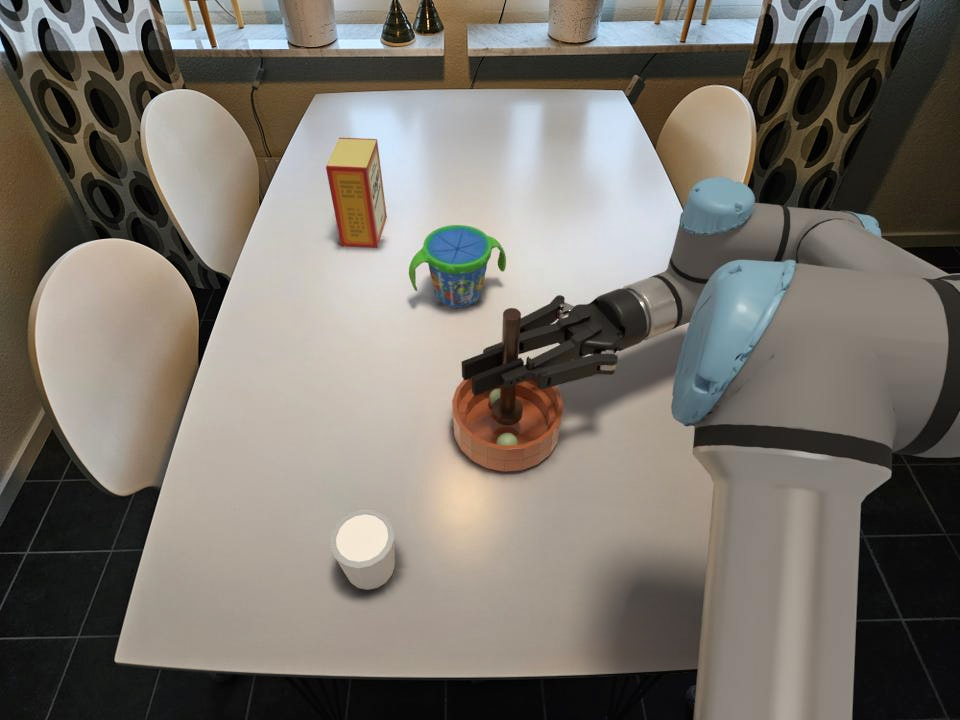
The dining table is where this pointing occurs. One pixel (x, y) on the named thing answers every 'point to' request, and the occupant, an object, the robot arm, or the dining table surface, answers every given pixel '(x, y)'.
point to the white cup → (364, 548)
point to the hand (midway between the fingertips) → (468, 378)
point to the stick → (507, 405)
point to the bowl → (482, 431)
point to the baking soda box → (357, 191)
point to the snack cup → (457, 263)
